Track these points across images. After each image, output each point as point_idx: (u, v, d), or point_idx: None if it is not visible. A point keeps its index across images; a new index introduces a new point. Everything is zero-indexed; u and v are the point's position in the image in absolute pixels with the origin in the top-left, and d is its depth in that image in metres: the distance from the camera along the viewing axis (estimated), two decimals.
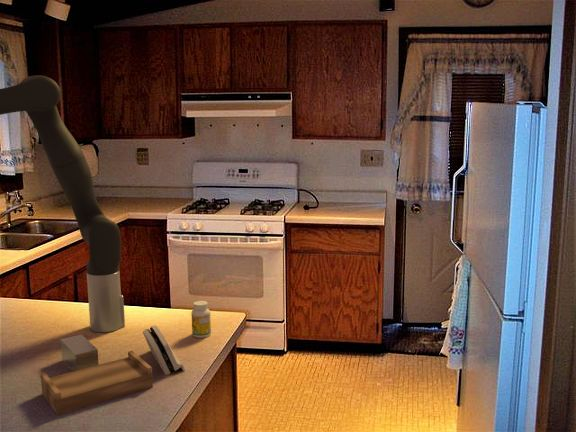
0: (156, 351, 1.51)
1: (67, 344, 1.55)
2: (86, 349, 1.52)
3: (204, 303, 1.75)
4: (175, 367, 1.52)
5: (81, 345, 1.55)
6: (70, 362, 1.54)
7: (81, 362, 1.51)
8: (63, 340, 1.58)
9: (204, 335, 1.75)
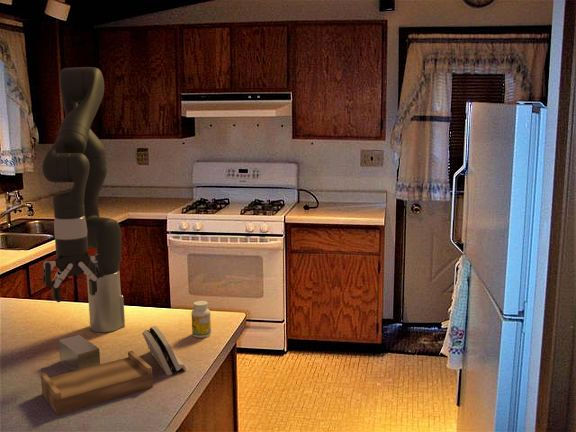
0: (158, 352, 1.50)
1: (67, 344, 1.55)
2: (88, 349, 1.53)
3: (204, 303, 1.75)
4: (177, 367, 1.52)
5: (81, 345, 1.55)
6: (71, 362, 1.53)
7: (83, 362, 1.51)
8: (62, 341, 1.58)
9: (204, 335, 1.75)
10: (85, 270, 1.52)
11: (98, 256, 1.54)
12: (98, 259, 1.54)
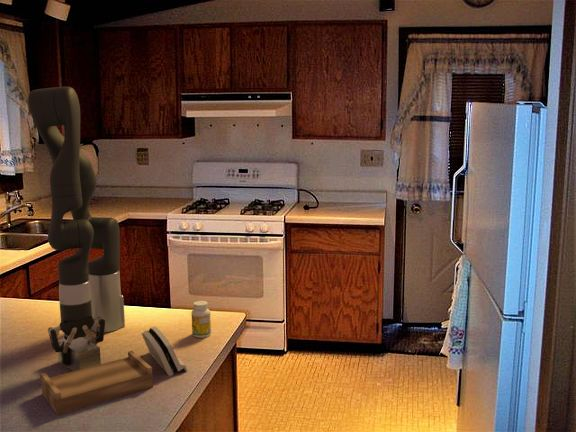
0: (159, 352, 1.50)
1: None
2: (88, 348, 1.53)
3: (204, 303, 1.75)
4: (178, 368, 1.52)
5: (81, 344, 1.55)
6: (71, 362, 1.53)
7: (84, 361, 1.51)
8: (61, 340, 1.57)
9: (204, 335, 1.75)
10: (87, 334, 1.55)
11: (102, 321, 1.57)
12: (101, 323, 1.57)
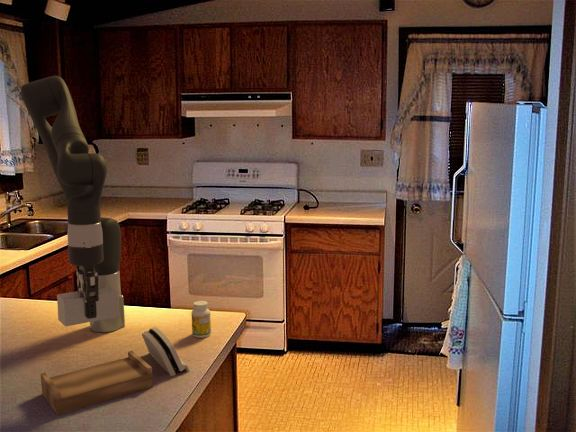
0: (161, 353, 1.50)
1: (83, 296, 1.38)
2: (105, 289, 1.43)
3: (204, 303, 1.75)
4: (180, 368, 1.52)
5: None
6: (98, 310, 1.40)
7: None
8: (69, 299, 1.36)
9: (204, 335, 1.75)
10: None
11: None
12: None
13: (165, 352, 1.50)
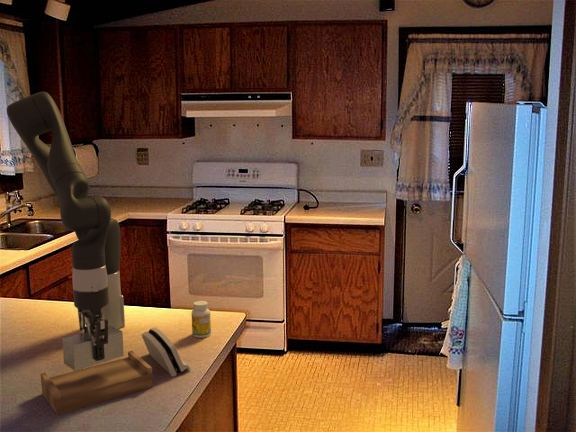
0: (162, 353, 1.49)
1: (91, 339, 1.38)
2: (109, 329, 1.44)
3: (204, 303, 1.75)
4: (181, 368, 1.52)
5: None
6: (105, 351, 1.41)
7: None
8: (77, 343, 1.36)
9: (204, 335, 1.75)
10: None
11: None
12: None
13: (166, 352, 1.50)
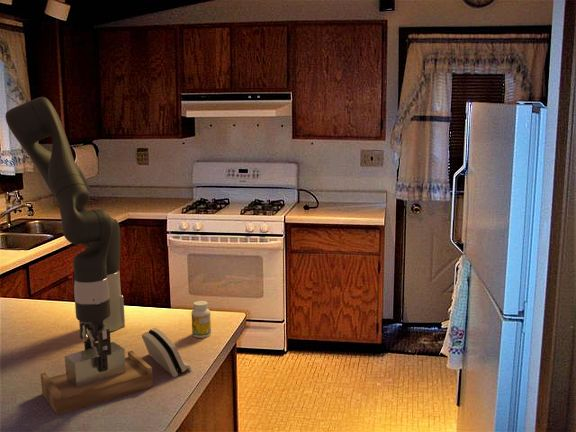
0: (164, 353, 1.49)
1: (93, 357, 1.39)
2: (111, 346, 1.45)
3: (204, 303, 1.75)
4: (182, 368, 1.52)
5: None
6: None
7: None
8: (79, 361, 1.37)
9: (204, 335, 1.75)
10: None
11: None
12: None
13: (167, 353, 1.50)
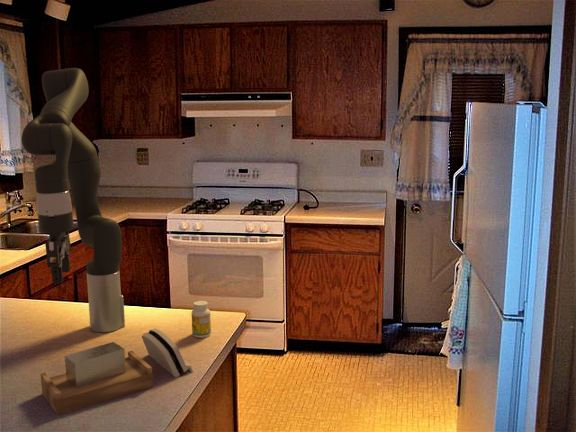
0: (165, 354, 1.49)
1: (93, 357, 1.39)
2: (111, 346, 1.45)
3: (204, 303, 1.75)
4: (184, 368, 1.52)
5: (99, 350, 1.43)
6: (107, 369, 1.41)
7: None
8: (79, 361, 1.37)
9: (204, 335, 1.75)
10: (68, 245, 1.46)
11: None
12: (68, 233, 1.49)
13: (169, 353, 1.49)
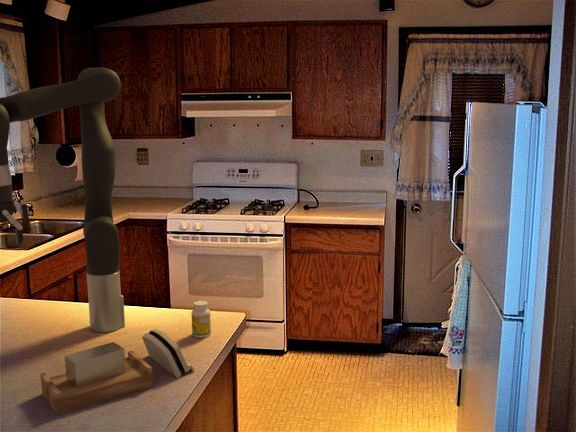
0: (167, 354, 1.49)
1: (93, 357, 1.39)
2: (111, 346, 1.45)
3: (204, 303, 1.75)
4: (186, 369, 1.51)
5: (99, 350, 1.43)
6: (107, 369, 1.41)
7: None
8: (79, 361, 1.37)
9: (204, 335, 1.75)
10: (10, 218, 1.55)
11: (23, 205, 1.57)
12: (23, 208, 1.57)
13: (171, 353, 1.49)
